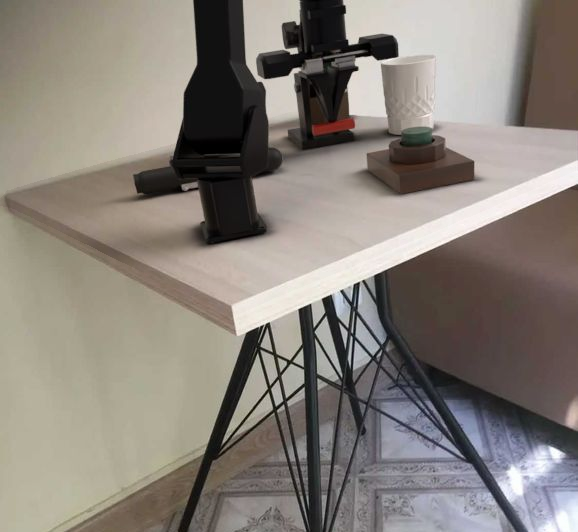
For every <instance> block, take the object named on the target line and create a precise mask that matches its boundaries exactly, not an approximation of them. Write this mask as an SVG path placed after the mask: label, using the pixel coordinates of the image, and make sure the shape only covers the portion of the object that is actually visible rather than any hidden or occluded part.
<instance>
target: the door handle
mask: <svg viewBox="0 0 578 532" xmlns="http://www.w3.org/2000/svg"><path fill="white" fill-rule="evenodd" d="M206 157H240V154H239V155H204V158H206ZM169 158H170V160H168V162H169V165H168V166H162V167H158V168H152V169H147V170H142V171H139V172H138V173H135V174H133V173H132V177H133V184H134V187H135V191H136V194H137V195H138V194H143V195H150V194H157V193H161V192H167V191H171V190H177V189H181V190H182V191H184V192H187V191H189V189H195V188H198V183H197V179H184V180H179V179H178V178H177V175H176V173H175V171H174V169H173V166H172V159H173V155H170V156H169ZM283 161H284V158H283V153H282V152H281V151H280V150H279V149H278V148H276V147H273V146H272V147H270V146H268V167H267V168H265V169H264V170H262V171H261V172H259V173H258V174H260V173H261V174H262V173H265V172H270V171H271V172H272V171H275V170H278V169H279V168H280V167H281V166H282V164H283Z"/></svg>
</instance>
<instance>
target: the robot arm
mask: <svg viewBox="0 0 578 532" xmlns="http://www.w3.org/2000/svg"><path fill="white" fill-rule="evenodd" d="M192 4H193V19H194V20H193V21H194V35H195V51H196V66H195V67H194V69H193V72H192V74H191V76H190V78H189V81H188V83H187V84H186V86H185V89H184V91H183V103H182V105H183V107H182V120H181V124H180V128H179V131H178V136H177V139H176V143H175V147H174V151H173V155H172V156H173V159H172V166H173V169H174V171H175V173H176V175H177V178H178V179H179V180H184V179H197V183H198V187H197V188H198V193H199V199H200V204H201V208H202V214H203V219H204V220H202V221H200V223H199V224H200V228H201V230H202V233H203V237H204V240H205V242H206V243H207V244H212V243H213V244H214V243H218V242H223V241H227V240H233V239H239V238H242V237H248V236H253V235H257V234H258V235H259V234H263V233H266V232H268V228H267V225H266V223H265V222H264V220H263V219H262V217H261V216H260V213H259V212H258V208H257V202H256V195H255V189H254V183H253V182H254V181H253V177H255V176H256V175H258V174H260V173H259V172H261V171H262V170H264V169H265V168H267V167H268V147H269V139H270V137H269V134H270V133H269V132H270V131H269V130H270V129H269V128H270V125H269V117H268V114H267V105H266V104H267V103H266V101H267V90H266V87H265V85H264V83H263V82H262V81H257V79H256V77H255V76H254V75H253V73H252V71H251V70H250V68H249V66H248V65H247V59H246V58H247V56H246V36H245V34H246V33H245V15H244V14H245V13H244V0H192ZM346 14H347V5H346V4H344V0H299V24H297V22H296V20H293V21H287V22H282V23H281V35H282V42H283V47H284V49H279V50H273V51H266V52H259V53H258V55H257V56H256V58H255V64H256V73H257V76H258V77H260V78H261V79H263V80H272V79H277V78H285V77H290V76H289V75H290V74H291V73H292V71H293V70H294V69H299V71H297V73H299V76H301V77H304V78H306V79H309V80H310V82H311V83H312V85H313V87H314V88H315V90H316V92H317V94H318V96H319V98H320V101H321V103H322V105H323V107H324V110H325V112H326V114H327V117H328V119H329V121H330V122H333V121H336V120H337V117H338V113H339V110H340V106H341V103H342V99H343V96H344V93H345V90H346V87H347V88H348V85H349V82H350V80H351V77H352V76H353V73H355V72H359V68H360V66H358V65H356V59H359V58H369V57H372V58H373V59H375V60H376V61H385V60H388V59H393V58H398V57H400V55H399V43H398V40H397V38H396V36H394V35H393V34H387V33H376V34H371V35H364V36H359V37H358V42H357V43H351V44H350V43H349V42H350V41H349V39H348V38H347V29H346V28H347V27H346V18H345V17H346V16H345V15H346ZM290 49H297V53H292V54H291V52H290V51H288V50H290ZM339 49H340V50H339ZM333 50H338V51H333ZM331 51H333V52H331ZM316 53H322V54H318V55H316ZM330 62H331V63H332V65H331V66H327V67H328V72H329V74H328V72H326V71H324V70H323V64H324V63H330ZM329 77H330V81H329ZM239 154H240V157H206V158H204V155H239ZM261 173H262V172H261Z"/></svg>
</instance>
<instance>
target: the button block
mask: <svg viewBox="0 0 578 532" xmlns="http://www.w3.org/2000/svg"><path fill="white" fill-rule="evenodd" d="M365 156H366V166H367V167H366V168H367V171H368V172H369V173H371V174H372V175H374V176H375V177H377V178H378V180H381V181H382V182H383V183H385V184H386V185H387V186H389V187H390V188H391V189H394V191H396V192H397V193H399V194H400V195H403V194H408V193H413V192H417V191H418V192H419V191H423V190H428V189H433V188H439V187H443V186H448V185H449V186H450V185H454V184H460V183H465V182H470V181H474V180H475V160H473V159H471V158H469V157H467V156H465V155H464V154H461V153H459V152H457V151H455V150H453V149H450V148H449V147H446V138H445V137H443V136H441V135H439V134H438V135H437V134H432V143H430V144H427V145H421V146H402V142H401V137H399V138H396V139H394V140H391V141H390V143H389V144H388V148H387V149H382V150H381V149H380V150H377V151H371V152H366V155H365Z"/></svg>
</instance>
